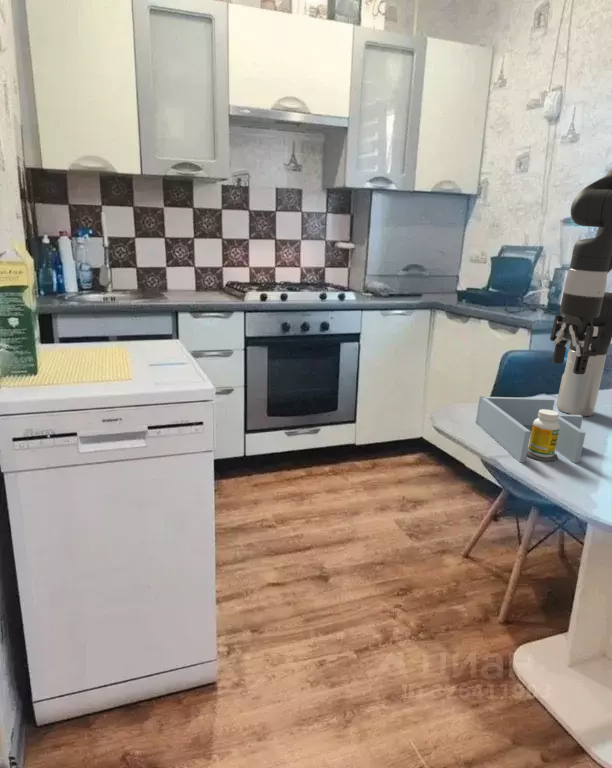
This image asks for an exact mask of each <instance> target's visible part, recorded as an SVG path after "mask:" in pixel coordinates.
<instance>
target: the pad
mask: <svg viewBox="0 0 612 768" xmlns="http://www.w3.org/2000/svg"><path fill="white" fill-rule="evenodd" d="M528 448H529V446H528ZM526 457H527V458H530V459H533V460H535V461H540V462H548V463H549V462H551V463H552V462H556V461H557V460H558V454H556V452H555V453H554V455H553V456H552V457H548V458H546V457H539V456H536V455H533V454H532V453H530V452H529V450H528V449H527V455H526Z"/></svg>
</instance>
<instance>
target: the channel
mask: <svg viewBox="0 0 612 768" xmlns="http://www.w3.org/2000/svg"><path fill="white" fill-rule="evenodd" d="M554 407H555V399H554V398H546V397H544V398H543V397H513V396H512V397H511V396H509V397H507V396H505V397H504V396H479V399H478V405H477V413H476V418H475V424H476V425H478V426H479V427H480V428H481V429H482V430H483V431H484V432H485V433H487V434H488V435H489V436H490V437H491V439H493V440H494V441H496V442H497V443H498V444H499V445H500V446H501V447H502V448H503V449H505V451H507V452H508V453H509V454H510V455H511V456H512V457H513V458H515V459H516V460H517V462H519V463H526V459H527V456H526V455H527V449H528V447H529V443H530V437H531V432H532V430H530V429H528V428H527V426H530V427H531V426H532V427H533V422H534V420H535V419H537V418H539V417H538V413H539V410H542V409H546V410H552V411H554ZM583 418H584V416H581V415H573V414H567V413H565V414H561V413H560V414H559V416H558V420H557V421H556V422H558V423H559V425H560V429H559V433H558V438H557V443H556V448H555V451H558V452H559V454H561V455H562V456H564V457H565V458H566V459H568V460H569V461H571V462H572V463H573V464H580V460H581V455H582V451H583V446H584V442H585V438H586V431H584V430H582V429H581V428H582V425H583V420H584V419H583ZM525 426H526V427H525Z"/></svg>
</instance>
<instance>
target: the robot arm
mask: <svg viewBox="0 0 612 768" xmlns="http://www.w3.org/2000/svg"><path fill="white" fill-rule="evenodd" d="M570 217H571V220H572V221H573V222H574V223H575V224H576V225H578V226H581V227H589V228H590V227H591V228H593V227H594V228H598V229H597V231H596V235H595V237H592V238H584V239H579V240H578V241H576V242H575V243H574V246H573V249H572V255H571V261H570V265H569V269H568V271H567V275H566V279H565V282H564V287H563V293H562V297H561V302H560V308H559V312H560V314H555V316H554V320H553V324H552V329H551V332H550V339H549V340H550V341H551V342H553V346H554V352H553V356H552V360H551V361H552V363H553V364H563V363H564V362H565V361H564V360H565V355H566V351H567V345H568V344H569V346H568V347H569V348H568V352H567V353H568V354H567V356H566V357H567V358H566V364H565V368H564V373H563V374H562V375H561V381H560V386H559V391H558V395H557V401H556V406H557V409H558V410H559V411H561V412H563V413H565V414H568V415H581V416H583V417H590V416H593V415H594V412H595V408H596V405H597V400H598V396H599V390H600V386H601V381H602V379H603V378H602V377H603V373H604V370H605V369H604V368H605V363H606V358H607V356H608V355H607V354H608V350H609V347H610V345H611V343H612V292H610V291H609V292H608V291H607V292H606V288H607V282H608V281H607V278H608V274H609V273H610V272H611V271H612V167H611V168H610V169H609V171H607V173H606V174H605V175H604V177H601V178H599V179H597V180H595V181H594V182H592V183H590V184H588V185H586V186H585V187H584V188H583V189H581V191H579V192H578V193H577V195H575V198H574V199H573V201H572V203H571V206H570ZM569 342H570V343H569Z"/></svg>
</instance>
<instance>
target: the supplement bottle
mask: <svg viewBox="0 0 612 768" xmlns="http://www.w3.org/2000/svg"><path fill="white" fill-rule="evenodd" d="M558 416H559V412H558V411H556V410H553V411H552V410H546V409H542V410H539V413H538V417H539V418H537V419H535V420H534V422H533V426H532V427H531V433H530V439H529V444H528V447H529V448H528V450H529V452H530V453H532V454H533V455H536V456H539V457H546V458H548V457H552V456H553V455H554V453H555V454H556V449H555V448H556V443H557V438H558V433H559V429H560V425H559V423H558V422H556V421H557V420H558Z"/></svg>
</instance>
